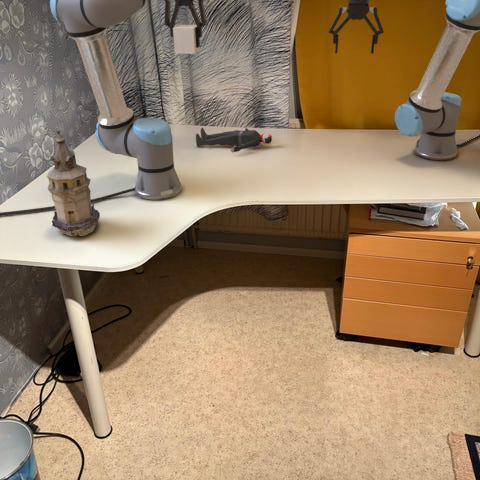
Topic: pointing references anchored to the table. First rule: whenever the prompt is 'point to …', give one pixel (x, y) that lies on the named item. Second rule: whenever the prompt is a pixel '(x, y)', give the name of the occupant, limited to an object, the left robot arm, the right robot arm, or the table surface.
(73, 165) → the miniature building
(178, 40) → the brick
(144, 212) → the table surface
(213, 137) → the toy
